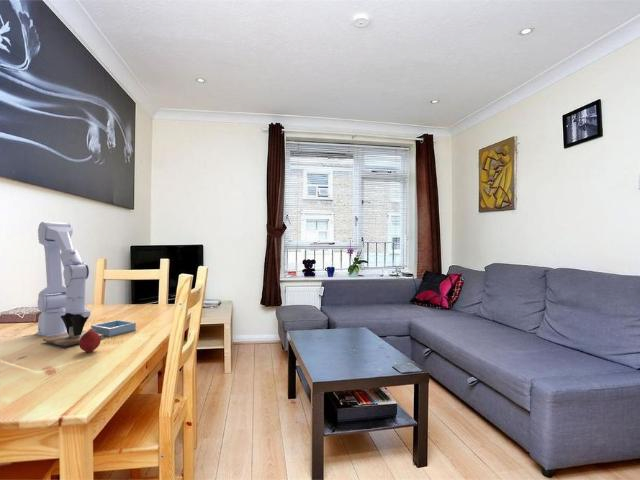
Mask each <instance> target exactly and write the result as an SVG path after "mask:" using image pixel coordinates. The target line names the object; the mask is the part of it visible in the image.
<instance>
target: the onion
mask: <svg viewBox="0 0 640 480" xmlns="http://www.w3.org/2000/svg"><path fill="white" fill-rule="evenodd" d="M87 331H88V332H86V333H85V334H84V335H83V336H82V337H81V339H80V341H79V348H80V349H81V350H82V351H84V352H85V353H93V352H94V351H95V350H96V349H97V348H99V347H100V345H101V342H102V340H101V339H100V336H99V335H98V334H97V333H96V332H94V331H93V329H92V328H91V327H90V328H89V329H88V330H87Z"/></svg>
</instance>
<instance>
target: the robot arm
mask: <svg viewBox="0 0 640 480" xmlns="http://www.w3.org/2000/svg"><path fill="white" fill-rule="evenodd" d="M73 231H74V229H73V226H72V224H71V222H54V221H53V222H52V221H41V222H40V223H39V225H38V228H37V237H38V243H39V245H40V244H41V245H42V246H43V250H44V256H45V257H44V258H45V261H44V262H45V272H46V273H45V274H46V275H45V277H46V287H45V288H43V289H42V290H41V291H39V293H38V296H37V297H38V299H37V308H38V310H39V311H40V312H41V313H40V314H38V315H39V316H38V321H37V332H35V333H34V334H35V335H39V336H40V335H41V336H45V337H47V338H49V337H54V336H58V335H63V334H68V335H69V327H72V326H73V333H74V336H78V335H81V333H82V330H83V331H84V327H85V324H86V322H87V321H88V320H89V318H90V317H91V310H88V309H86V308H85V307H86V304H85V303H86V283H87V282H86V280H87V279H88V278H89V275H90V269H89V268H90V267H89V265H88V263H85V262H84V261H82V258H81V255H80V254H79V251H78V250H77V249H74V248H73V244H72V240H71V238H72V235H73ZM62 265H63V268H64V269H63V273H62ZM63 279H64V285H65V286H64V285H63Z"/></svg>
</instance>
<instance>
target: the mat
mask: <svg viewBox="0 0 640 480" xmlns="http://www.w3.org/2000/svg"><path fill="white" fill-rule="evenodd" d="M100 339H101V341H102V340H105V339H106V338H104V337H101V338H100ZM40 344H41V345H45V346H51V347H55V348H58V349H63V350H68V349H70V348H71V349H72V348H76V347H78V346H79V343H77V344H73V345H69V346H62V345H58V344H54V343H50V342H45V341H43V342H41V343H40ZM79 347H80V346H79Z"/></svg>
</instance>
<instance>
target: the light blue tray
mask: <svg viewBox="0 0 640 480" xmlns="http://www.w3.org/2000/svg"><path fill="white" fill-rule="evenodd" d="M136 327H137V322H133V321H127V320H123V319H122V320H121V319H116V320H112V321H106V322H102V323H101V322H100V323H96V324H92V325H91V326H90V329H91V328H92V329H93V331H94V332H96V333H98V334H102V335H104V337H107V338H111V337H115V336H119V335H123V334H128V333H131V332H136V329H137V328H136Z"/></svg>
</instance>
